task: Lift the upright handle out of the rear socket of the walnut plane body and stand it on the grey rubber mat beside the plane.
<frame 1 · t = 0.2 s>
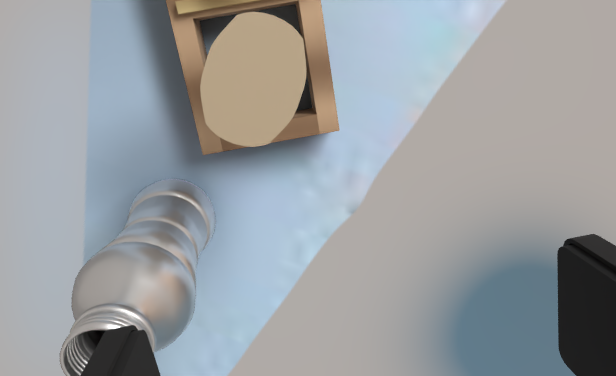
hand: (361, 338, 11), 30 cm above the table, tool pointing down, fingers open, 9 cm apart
plastic bottle: (179, 208, 40), on the table
handle: (258, 65, 37), resting in plane body
plane body: (252, 39, 37), on the table
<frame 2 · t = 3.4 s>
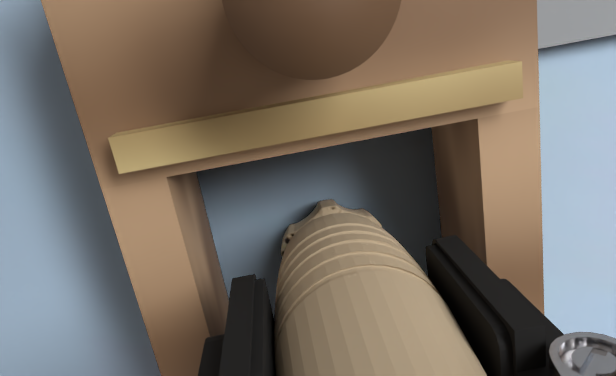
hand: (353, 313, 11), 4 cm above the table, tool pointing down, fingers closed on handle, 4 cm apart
handle: (329, 240, 16), resting in plane body, touching gripper
plane body: (320, 185, 15), on the table
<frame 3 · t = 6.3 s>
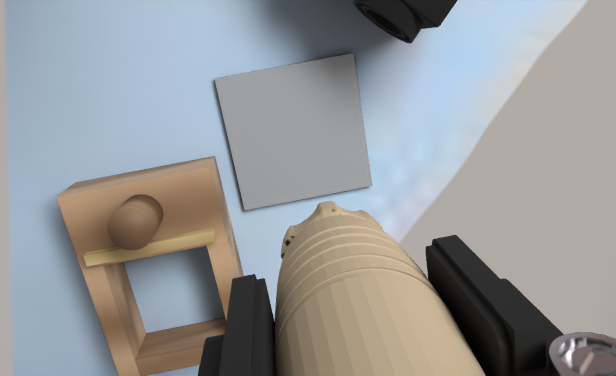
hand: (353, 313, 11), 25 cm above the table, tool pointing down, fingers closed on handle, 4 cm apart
mat: (296, 133, 35), on the table
handle: (330, 242, 16), point 20 cm above the table, touching gripper
plane body: (171, 259, 37), on the table
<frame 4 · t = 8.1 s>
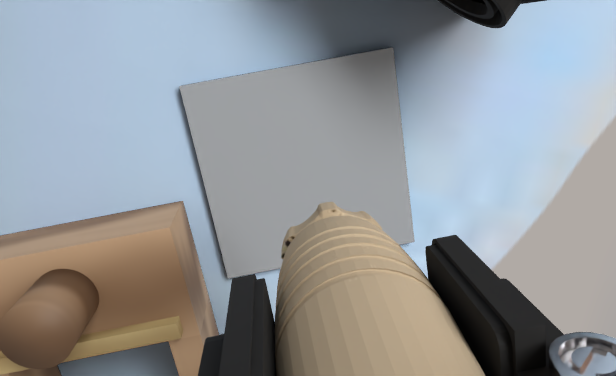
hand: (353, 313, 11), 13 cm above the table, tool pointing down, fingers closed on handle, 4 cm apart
mat: (304, 167, 24), on the table
handle: (330, 242, 16), point 8 cm above the table, touching gripper
plane body: (122, 346, 26), on the table
when the fingers open (6 cm above the table, at t = 9.6 s): handle stays where it is, resting on mat.
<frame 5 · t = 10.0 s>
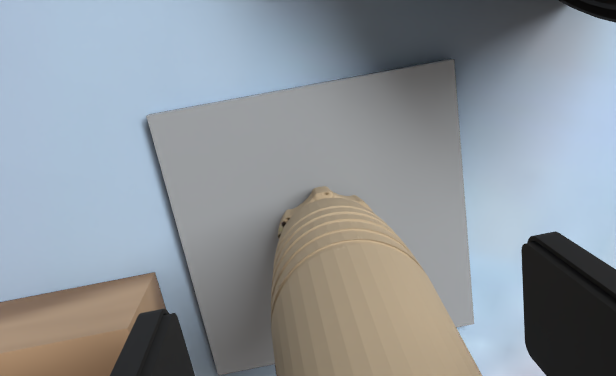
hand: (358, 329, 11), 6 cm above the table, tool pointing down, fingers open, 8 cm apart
mat: (325, 226, 17), on the table
handle: (324, 225, 17), resting on mat
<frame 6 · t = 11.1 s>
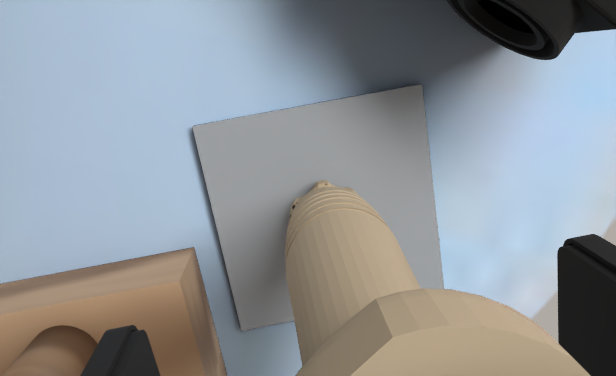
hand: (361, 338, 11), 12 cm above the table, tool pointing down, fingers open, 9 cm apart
mat: (325, 212, 22), on the table
handle: (324, 211, 22), resting on mat
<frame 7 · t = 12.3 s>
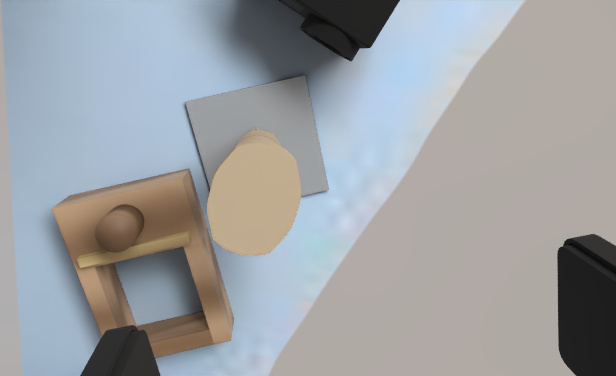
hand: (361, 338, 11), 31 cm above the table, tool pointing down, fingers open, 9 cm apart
mat: (260, 146, 40), on the table
handle: (259, 146, 40), resting on mat
plane body: (156, 260, 43), on the table
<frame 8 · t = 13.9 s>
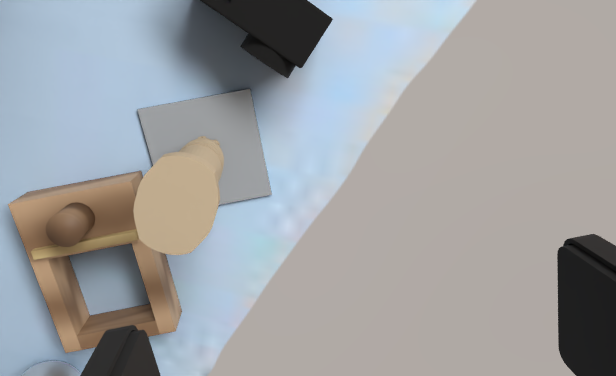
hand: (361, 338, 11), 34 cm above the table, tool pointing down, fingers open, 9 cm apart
mat: (207, 152, 44), on the table
handle: (206, 152, 43), resting on mat
digital camera: (255, 15, 41), on the table
plane body: (109, 254, 46), on the table
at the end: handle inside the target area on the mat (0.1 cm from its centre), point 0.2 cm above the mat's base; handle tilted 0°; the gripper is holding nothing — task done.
